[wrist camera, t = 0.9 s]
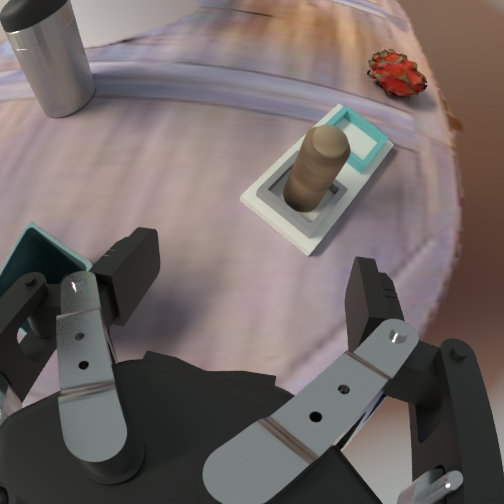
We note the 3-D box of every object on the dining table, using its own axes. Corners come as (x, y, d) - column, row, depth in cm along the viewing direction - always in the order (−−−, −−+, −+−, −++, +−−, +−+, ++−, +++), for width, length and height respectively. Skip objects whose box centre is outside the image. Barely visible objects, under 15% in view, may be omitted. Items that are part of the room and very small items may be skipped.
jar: (277, 182, 37) (300, 121, 27) (312, 176, 38) (342, 118, 28) (290, 215, 36) (318, 161, 26) (324, 208, 37) (362, 155, 26)
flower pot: (122, 287, 33) (94, 264, 24) (84, 357, 30) (45, 355, 21) (65, 249, 33) (29, 219, 25) (29, 313, 30) (-16, 298, 22)
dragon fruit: (352, 79, 49) (406, 105, 52) (368, 85, 42) (427, 116, 45) (368, 39, 44) (421, 68, 47) (387, 39, 38) (445, 74, 40)
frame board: (307, 256, 36) (314, 248, 34) (239, 200, 37) (241, 189, 35) (390, 149, 43) (398, 138, 40) (336, 108, 44) (342, 96, 41)
